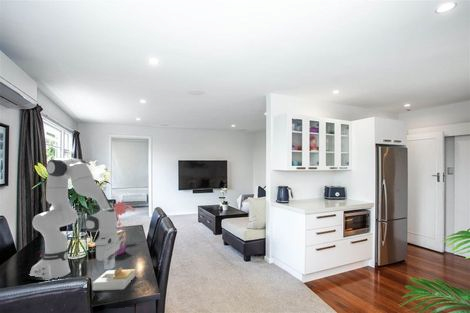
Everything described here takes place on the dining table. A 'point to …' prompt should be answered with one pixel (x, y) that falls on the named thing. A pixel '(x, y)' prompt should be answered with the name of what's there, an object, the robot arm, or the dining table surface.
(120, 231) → the candy bar box
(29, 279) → the dining table surface
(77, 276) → the dining table surface
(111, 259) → the plug
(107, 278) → the socket plate
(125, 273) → the shutter
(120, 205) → the pink flowers
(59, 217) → the robot arm
